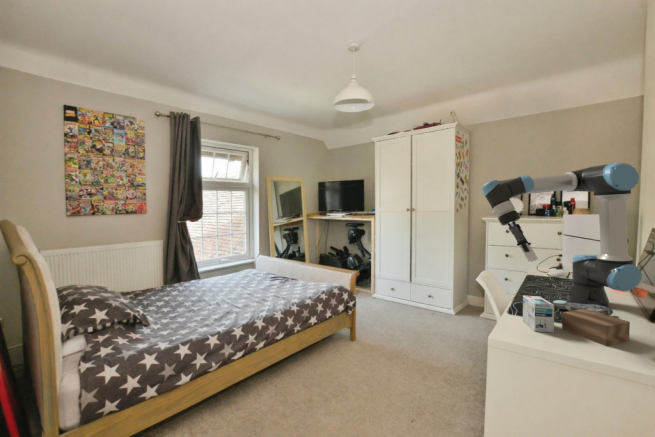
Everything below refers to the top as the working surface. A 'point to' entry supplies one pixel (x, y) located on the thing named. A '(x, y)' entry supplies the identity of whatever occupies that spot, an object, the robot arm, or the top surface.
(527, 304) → the light bulb box
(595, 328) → the walnut block
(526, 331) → the top surface
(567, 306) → the toy aircraft
